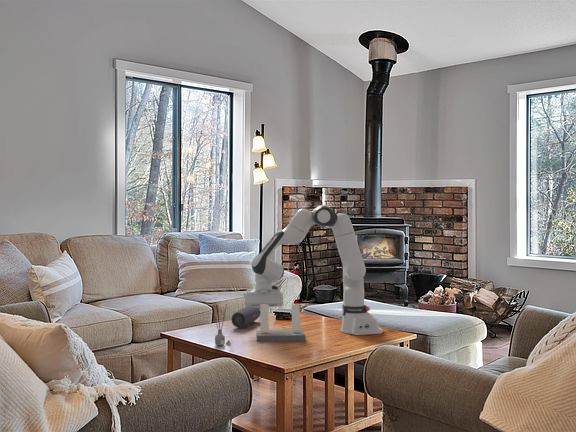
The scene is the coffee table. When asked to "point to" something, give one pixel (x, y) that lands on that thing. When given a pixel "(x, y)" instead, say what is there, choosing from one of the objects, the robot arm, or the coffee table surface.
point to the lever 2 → (295, 317)
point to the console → (280, 336)
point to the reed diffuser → (220, 332)
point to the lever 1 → (264, 317)
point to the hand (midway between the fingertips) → (264, 312)
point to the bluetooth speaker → (245, 316)
